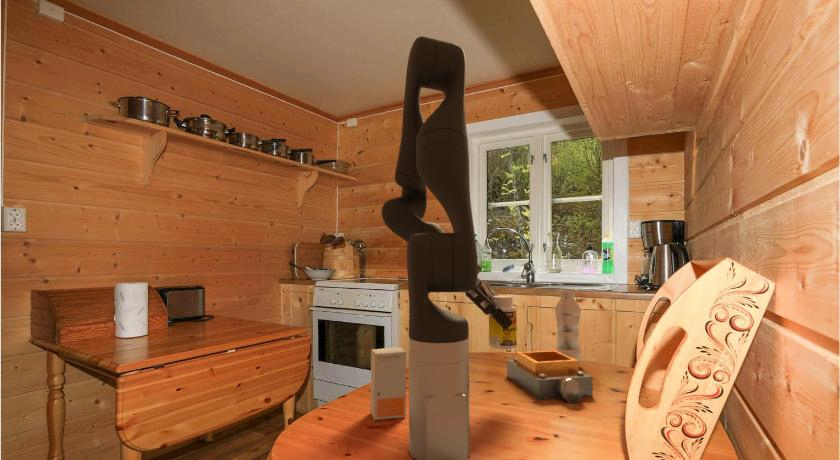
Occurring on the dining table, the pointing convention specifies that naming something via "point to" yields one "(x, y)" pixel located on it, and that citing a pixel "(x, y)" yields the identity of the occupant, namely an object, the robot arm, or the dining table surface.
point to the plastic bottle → (568, 324)
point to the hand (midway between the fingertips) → (511, 323)
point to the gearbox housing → (550, 375)
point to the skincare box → (388, 383)
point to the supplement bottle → (497, 333)
